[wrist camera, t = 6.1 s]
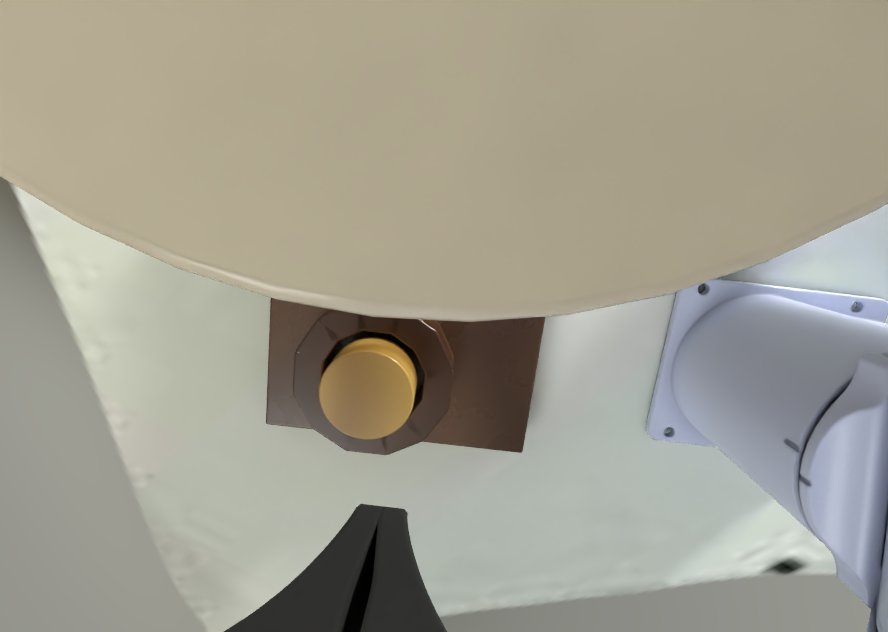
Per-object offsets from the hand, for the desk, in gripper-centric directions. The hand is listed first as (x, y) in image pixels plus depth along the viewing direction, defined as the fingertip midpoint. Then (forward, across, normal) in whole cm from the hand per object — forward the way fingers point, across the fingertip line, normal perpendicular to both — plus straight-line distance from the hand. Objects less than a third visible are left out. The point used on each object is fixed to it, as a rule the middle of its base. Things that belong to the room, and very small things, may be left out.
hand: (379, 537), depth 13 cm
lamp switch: (+7, +1, -2) cm, 8 cm away
